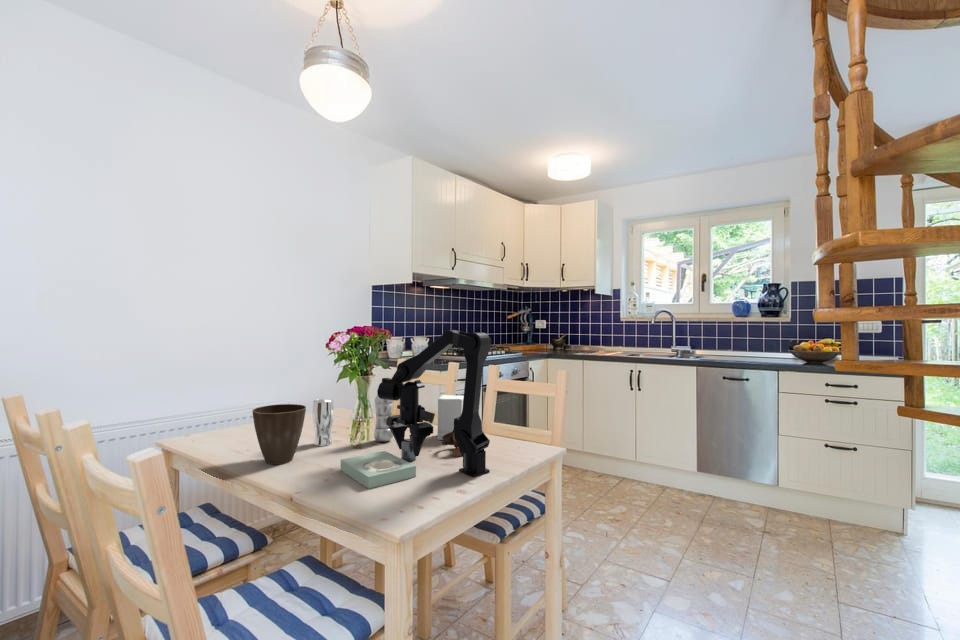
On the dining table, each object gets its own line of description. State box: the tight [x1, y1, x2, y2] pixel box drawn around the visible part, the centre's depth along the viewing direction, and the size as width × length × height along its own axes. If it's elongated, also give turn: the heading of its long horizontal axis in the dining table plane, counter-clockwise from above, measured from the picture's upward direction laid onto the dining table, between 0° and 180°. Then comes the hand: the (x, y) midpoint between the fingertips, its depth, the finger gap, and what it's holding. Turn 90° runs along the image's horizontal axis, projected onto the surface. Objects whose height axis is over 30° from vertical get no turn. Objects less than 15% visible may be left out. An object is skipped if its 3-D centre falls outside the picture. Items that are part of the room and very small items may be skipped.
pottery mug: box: [441, 432, 463, 458], centre depth 144 cm, size 12×10×8 cm
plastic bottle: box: [373, 393, 394, 443], centre depth 156 cm, size 6×7×20 cm
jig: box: [340, 450, 417, 490], centre depth 123 cm, size 18×14×3 cm
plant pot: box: [251, 403, 307, 465], centre depth 134 cm, size 15×15×16 cm
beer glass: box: [312, 398, 335, 447], centre depth 153 cm, size 7×7×15 cm
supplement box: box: [437, 394, 464, 441], centre depth 162 cm, size 9×9×15 cm
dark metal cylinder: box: [400, 438, 417, 463], centre depth 135 cm, size 4×4×6 cm
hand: (408, 452), depth 135 cm, fingers open, 9 cm apart
